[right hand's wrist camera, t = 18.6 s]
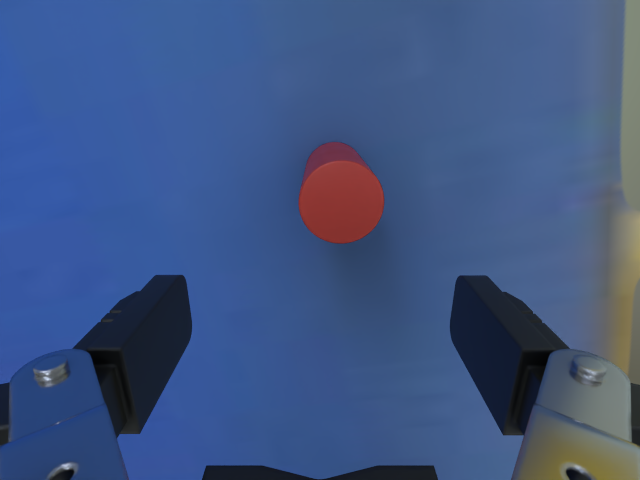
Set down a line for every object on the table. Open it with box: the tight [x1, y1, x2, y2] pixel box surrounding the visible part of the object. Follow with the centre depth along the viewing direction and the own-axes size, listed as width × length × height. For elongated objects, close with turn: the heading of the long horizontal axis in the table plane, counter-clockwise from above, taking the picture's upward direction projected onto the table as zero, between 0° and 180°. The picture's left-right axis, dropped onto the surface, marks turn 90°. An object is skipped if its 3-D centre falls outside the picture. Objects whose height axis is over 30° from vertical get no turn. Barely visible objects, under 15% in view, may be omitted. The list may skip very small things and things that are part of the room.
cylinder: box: [299, 142, 384, 244], centre depth 25 cm, size 5×5×10 cm
